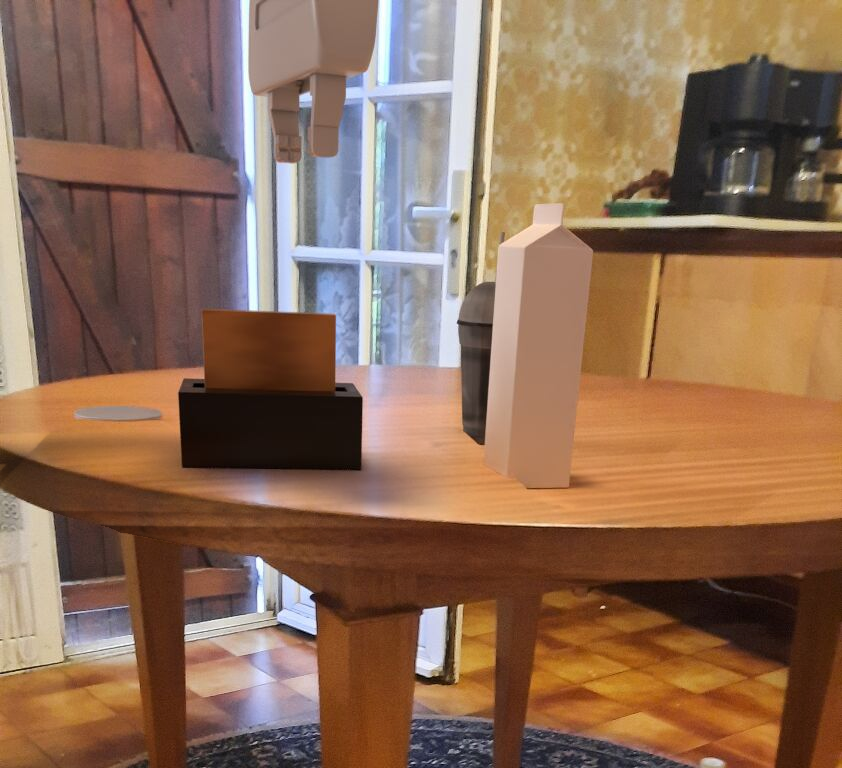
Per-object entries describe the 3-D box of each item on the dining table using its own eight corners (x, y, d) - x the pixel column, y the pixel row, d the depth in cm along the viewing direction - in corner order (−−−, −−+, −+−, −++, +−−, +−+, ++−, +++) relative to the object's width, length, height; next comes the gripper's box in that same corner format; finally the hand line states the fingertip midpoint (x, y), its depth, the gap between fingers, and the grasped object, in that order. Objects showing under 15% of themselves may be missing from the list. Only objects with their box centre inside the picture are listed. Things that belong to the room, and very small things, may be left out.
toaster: (182, 479, 89) (177, 391, 86) (187, 458, 97) (183, 378, 94) (361, 481, 92) (362, 396, 88) (351, 461, 100) (352, 383, 96)
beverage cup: (440, 442, 111) (451, 229, 103) (463, 432, 118) (476, 230, 109) (506, 449, 109) (523, 232, 100) (527, 439, 115) (544, 234, 107)
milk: (505, 489, 92) (526, 201, 82) (481, 475, 97) (498, 201, 87) (570, 488, 93) (598, 205, 84) (543, 473, 98) (567, 205, 89)
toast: (207, 459, 92) (201, 309, 87) (208, 455, 94) (202, 308, 89) (334, 461, 94) (336, 314, 89) (333, 458, 95) (334, 313, 90)
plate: (78, 431, 107) (77, 419, 107) (71, 417, 115) (70, 406, 114) (169, 430, 110) (168, 418, 110) (156, 416, 118) (155, 405, 117)
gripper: (225, -50, 79) (231, 163, 85) (297, -123, 62) (298, 149, 68) (307, -39, 81) (307, 168, 87) (399, -106, 64) (391, 156, 70)
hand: (304, 160), depth 77 cm, fingers open, 8 cm apart
